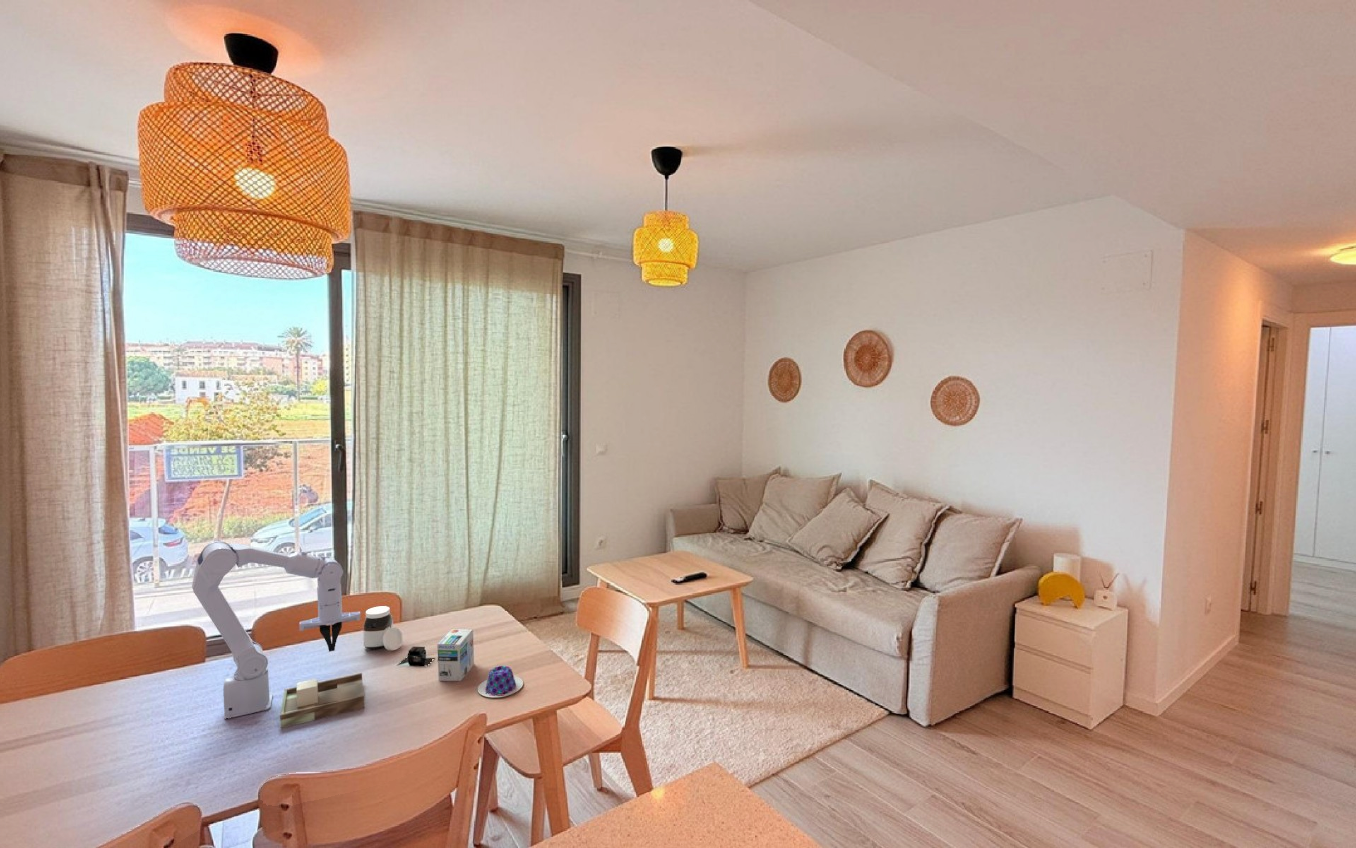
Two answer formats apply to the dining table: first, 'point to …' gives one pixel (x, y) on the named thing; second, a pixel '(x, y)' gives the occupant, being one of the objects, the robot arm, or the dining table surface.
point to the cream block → (307, 692)
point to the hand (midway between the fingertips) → (331, 649)
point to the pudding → (500, 682)
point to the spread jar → (381, 630)
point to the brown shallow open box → (324, 700)
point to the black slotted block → (416, 658)
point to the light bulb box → (455, 655)
